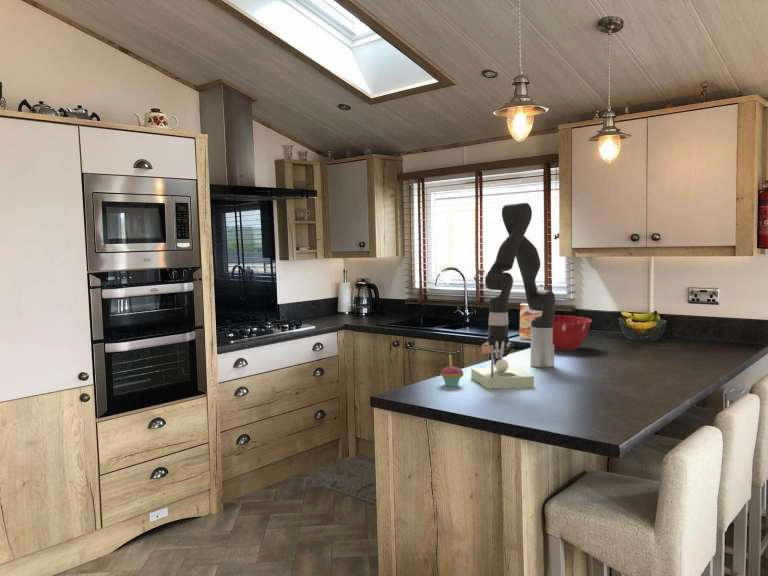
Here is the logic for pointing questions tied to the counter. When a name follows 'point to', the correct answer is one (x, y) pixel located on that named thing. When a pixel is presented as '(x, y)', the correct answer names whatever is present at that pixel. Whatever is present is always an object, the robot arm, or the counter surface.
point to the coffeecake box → (527, 320)
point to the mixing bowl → (569, 332)
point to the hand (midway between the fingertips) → (497, 367)
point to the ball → (501, 365)
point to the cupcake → (451, 374)
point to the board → (500, 375)
